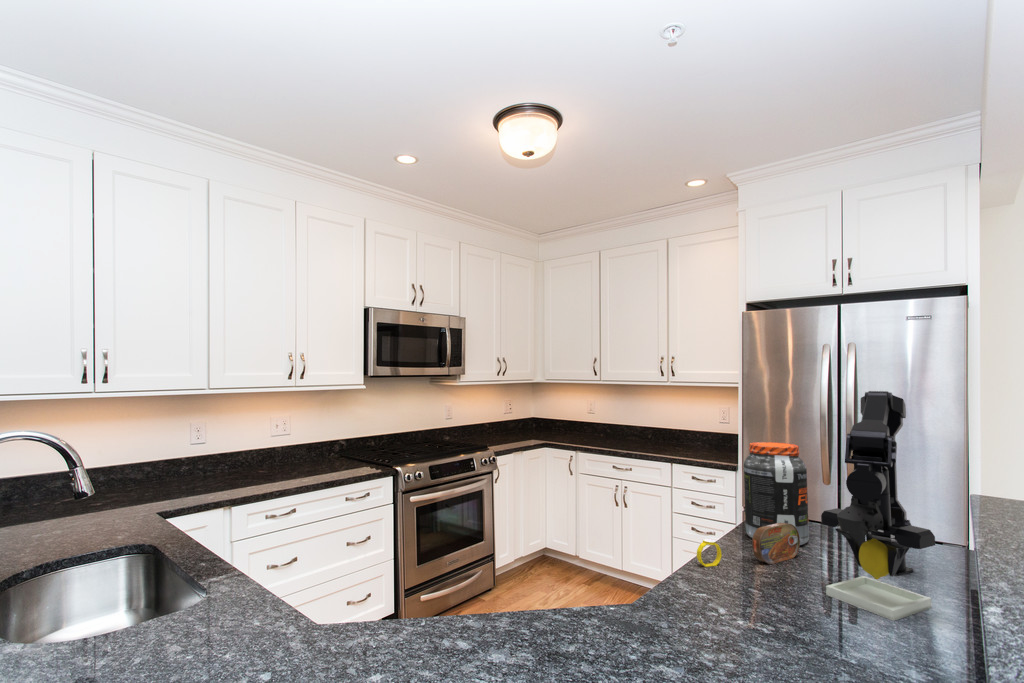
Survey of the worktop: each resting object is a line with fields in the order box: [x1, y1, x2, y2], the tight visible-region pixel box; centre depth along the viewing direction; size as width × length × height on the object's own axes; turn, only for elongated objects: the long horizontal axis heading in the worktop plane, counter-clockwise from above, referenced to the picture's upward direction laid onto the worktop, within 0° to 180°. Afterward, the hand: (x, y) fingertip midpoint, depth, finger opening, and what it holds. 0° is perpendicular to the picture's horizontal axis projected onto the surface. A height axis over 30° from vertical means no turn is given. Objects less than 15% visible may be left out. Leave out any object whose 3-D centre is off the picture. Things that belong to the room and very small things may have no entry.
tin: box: [751, 523, 801, 565], centre depth 127 cm, size 15×3×8 cm, turn 117°
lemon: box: [859, 538, 889, 580], centre depth 104 cm, size 6×6×8 cm
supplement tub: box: [743, 441, 810, 546], centre depth 144 cm, size 16×16×26 cm
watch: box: [696, 538, 723, 568], centre depth 123 cm, size 6×3×6 cm, turn 105°
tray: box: [825, 575, 933, 622], centre depth 103 cm, size 13×13×2 cm
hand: (876, 570), depth 104 cm, fingers closed on lemon, 5 cm apart
